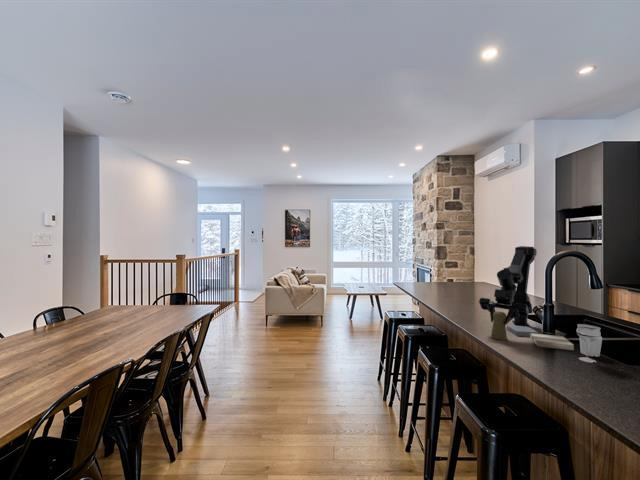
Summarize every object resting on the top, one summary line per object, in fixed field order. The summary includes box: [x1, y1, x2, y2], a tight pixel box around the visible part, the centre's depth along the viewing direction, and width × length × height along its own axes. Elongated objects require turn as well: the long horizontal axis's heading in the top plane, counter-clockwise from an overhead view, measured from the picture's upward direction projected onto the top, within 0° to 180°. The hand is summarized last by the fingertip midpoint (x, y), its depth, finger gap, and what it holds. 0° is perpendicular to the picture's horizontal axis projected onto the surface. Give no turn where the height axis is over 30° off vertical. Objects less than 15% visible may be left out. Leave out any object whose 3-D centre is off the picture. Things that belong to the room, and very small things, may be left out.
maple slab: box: [529, 333, 575, 351], centre depth 138 cm, size 12×12×2 cm
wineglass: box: [576, 323, 602, 364], centre depth 120 cm, size 7×7×12 cm
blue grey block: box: [506, 325, 539, 337], centre depth 152 cm, size 9×9×2 cm
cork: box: [490, 311, 508, 341], centre depth 144 cm, size 6×6×11 cm
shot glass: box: [579, 335, 603, 358], centre depth 127 cm, size 7×7×7 cm
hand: (498, 322), depth 143 cm, fingers closed on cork, 5 cm apart
